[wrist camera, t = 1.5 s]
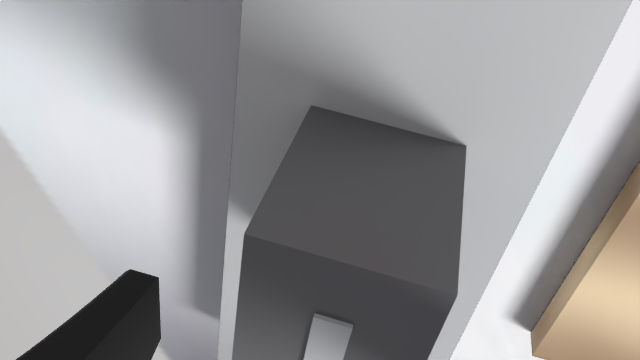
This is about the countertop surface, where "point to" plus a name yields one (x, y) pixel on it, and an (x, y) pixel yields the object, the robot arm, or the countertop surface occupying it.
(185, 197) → the countertop surface
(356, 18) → the power strip
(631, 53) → the countertop surface
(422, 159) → the block
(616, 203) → the oak board
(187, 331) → the countertop surface
